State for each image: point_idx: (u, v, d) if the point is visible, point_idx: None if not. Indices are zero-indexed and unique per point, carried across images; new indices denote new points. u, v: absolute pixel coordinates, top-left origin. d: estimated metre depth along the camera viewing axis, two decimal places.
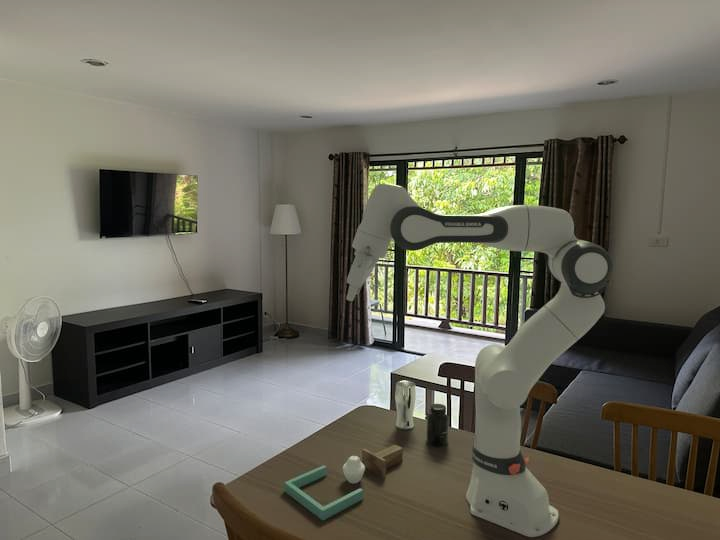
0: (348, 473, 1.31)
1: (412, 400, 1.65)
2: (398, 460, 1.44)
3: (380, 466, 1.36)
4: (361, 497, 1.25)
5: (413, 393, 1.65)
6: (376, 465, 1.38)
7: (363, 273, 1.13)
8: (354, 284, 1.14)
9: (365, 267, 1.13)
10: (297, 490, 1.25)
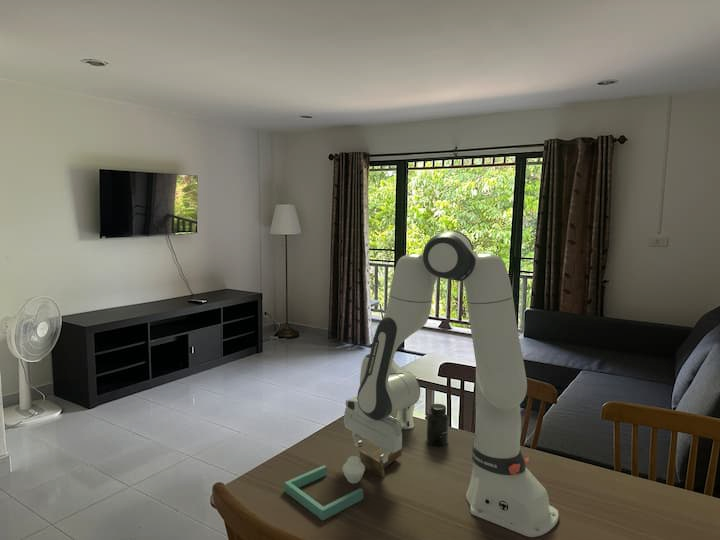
0: (348, 473, 1.31)
1: None
2: (397, 455, 1.44)
3: (378, 467, 1.36)
4: (361, 497, 1.25)
5: None
6: (374, 466, 1.37)
7: (401, 438, 1.33)
8: (398, 450, 1.32)
9: (401, 433, 1.33)
10: (297, 490, 1.25)
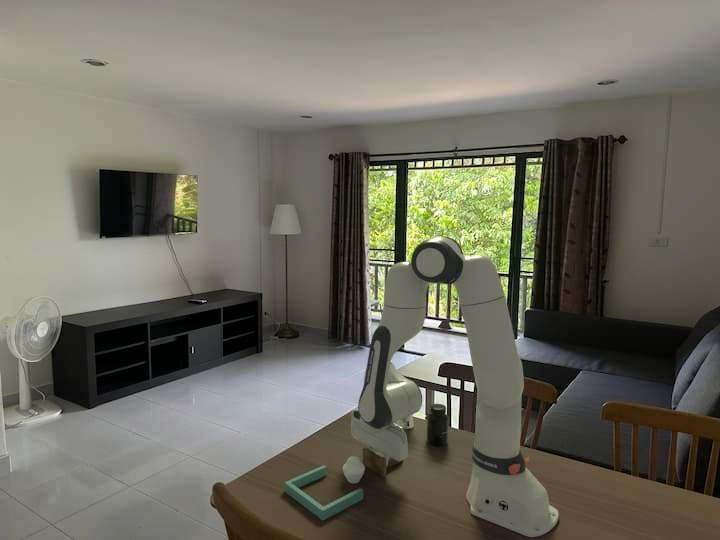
0: (348, 473, 1.31)
1: None
2: None
3: (380, 465, 1.36)
4: (361, 497, 1.25)
5: None
6: (376, 464, 1.38)
7: (407, 446, 1.33)
8: (404, 458, 1.33)
9: None
10: (297, 490, 1.25)
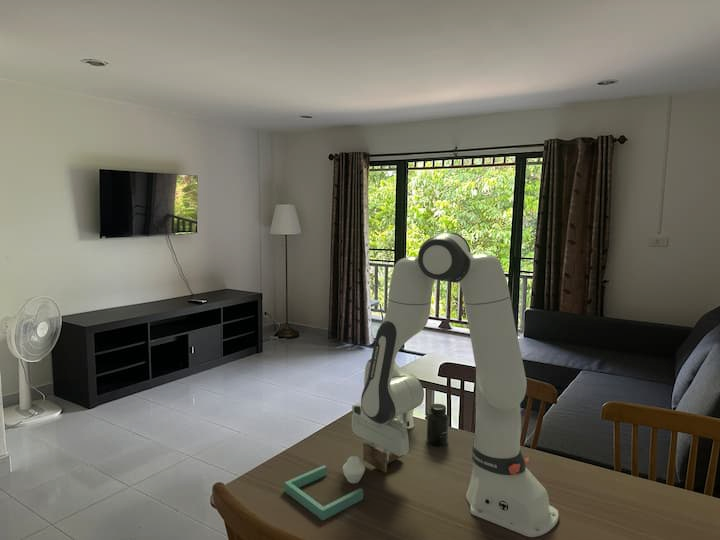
0: (348, 473, 1.31)
1: None
2: None
3: (381, 461, 1.36)
4: (361, 497, 1.25)
5: None
6: (377, 460, 1.38)
7: (408, 441, 1.33)
8: (405, 453, 1.33)
9: (407, 436, 1.33)
10: (297, 490, 1.25)
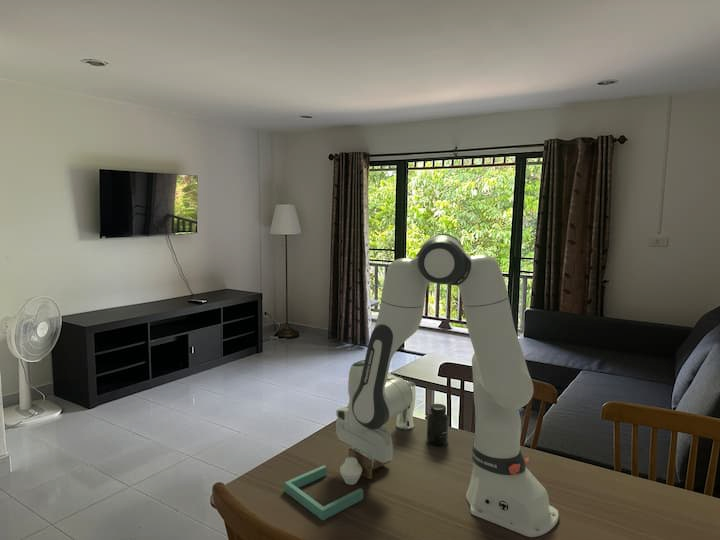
0: (345, 474, 1.30)
1: (412, 400, 1.65)
2: None
3: (366, 467, 1.33)
4: (361, 497, 1.25)
5: (413, 393, 1.65)
6: (362, 466, 1.34)
7: (392, 447, 1.29)
8: None
9: (391, 442, 1.29)
10: (297, 490, 1.25)
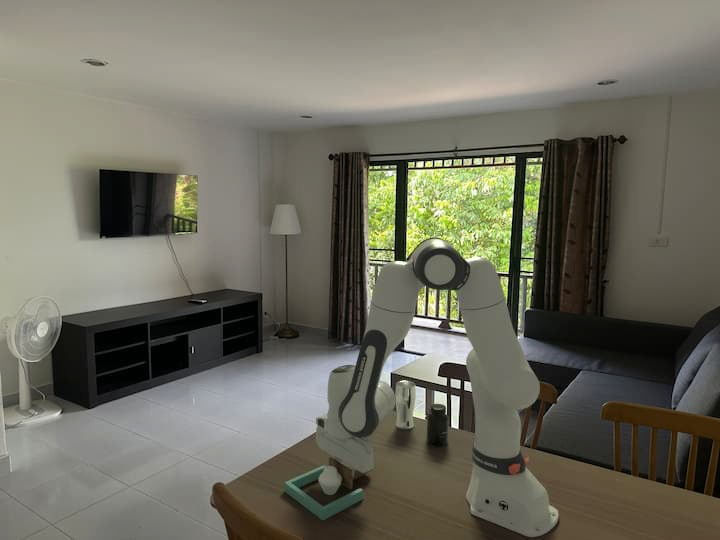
0: (323, 484, 1.26)
1: (412, 400, 1.65)
2: None
3: (346, 477, 1.28)
4: (361, 497, 1.25)
5: (413, 393, 1.65)
6: (342, 475, 1.29)
7: (373, 457, 1.24)
8: (369, 470, 1.24)
9: (372, 451, 1.24)
10: (297, 490, 1.25)
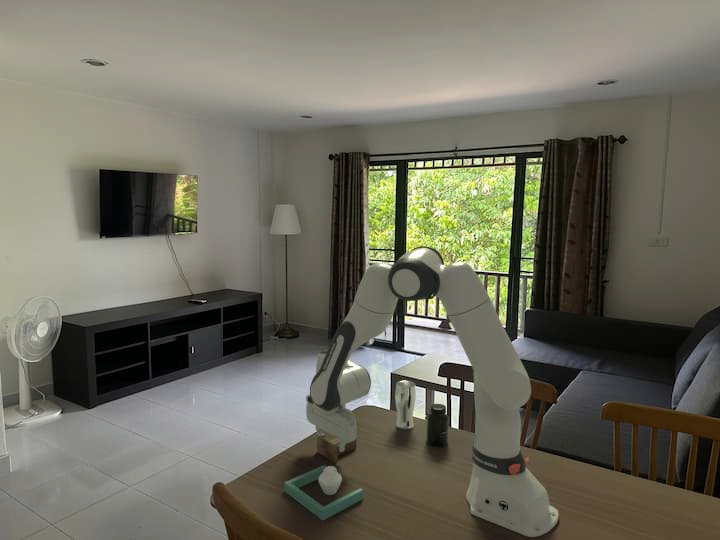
0: (323, 484, 1.26)
1: (412, 400, 1.65)
2: (352, 447, 1.51)
3: (332, 452, 1.44)
4: (361, 497, 1.25)
5: (413, 393, 1.65)
6: (329, 451, 1.45)
7: (356, 428, 1.40)
8: (353, 440, 1.40)
9: (355, 423, 1.40)
10: (297, 490, 1.25)
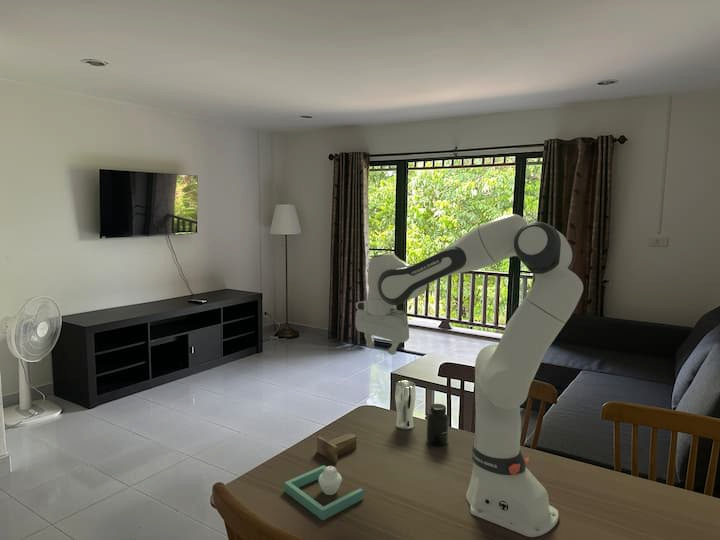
0: (323, 484, 1.26)
1: (412, 400, 1.65)
2: (352, 447, 1.51)
3: (332, 452, 1.44)
4: (361, 497, 1.25)
5: (413, 393, 1.65)
6: (329, 451, 1.45)
7: (408, 329, 1.42)
8: (405, 340, 1.42)
9: None
10: (297, 490, 1.25)
